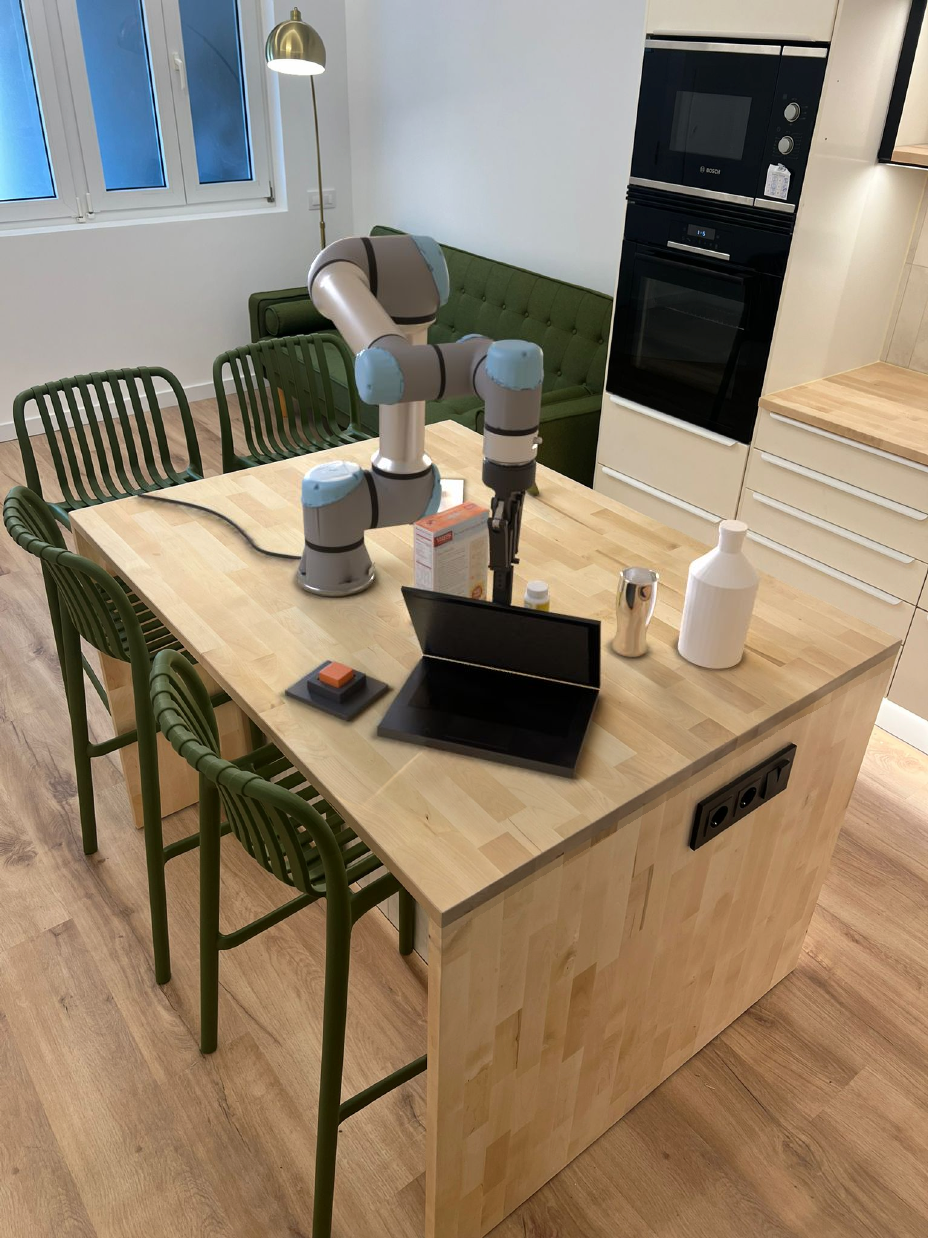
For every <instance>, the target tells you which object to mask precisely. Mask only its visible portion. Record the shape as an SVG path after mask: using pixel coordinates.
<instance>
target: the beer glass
mask: <svg viewBox="0 0 928 1238" xmlns="http://www.w3.org/2000/svg"><path fill="white" fill-rule="evenodd" d="M659 578H660V577H659V574H658V573H657V572H655V571H654V570H652V569H650V568H648V567H643V566H628V567H625V568H623V569H622V570H621V571H620V575H619V580H618V583H617V589H616V595H615V596H616V597H615V613H616V615H615V616H616V632H615V635H614V637H613V641H612V645H611V646H612V647H611V648H612V650H613V651H614V652H615V653H616V654H618V655H620V656H623V657H626V658H638V657H641V656H643V655H644V654H646V652H647V632H648V628H649V626H650V624H651V620H652V617H653V615H654V612H655V608H656V605H657V600H658V590H659Z"/></svg>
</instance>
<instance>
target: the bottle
mask: <svg viewBox="0 0 928 1238" xmlns="http://www.w3.org/2000/svg"><path fill="white" fill-rule="evenodd" d="M718 527H719V528H718V532H719V537H718V543H717V546H716V547H715V548H713V549H712V550H710V551H709V552H708V553H706V554H704V555H703V556H701V557H699V558H697V559H695V560H694V561H692V562H691V563H690V565H689V569H688V570H689V571H688V576H687V583H686V584H687V585H686V591H685V596H684V597H685V598H684V603H683V609H682V610H683V611H682V616H681V617H682V618H681V624H680V630H679V637H678V643H677V650H678V652H679V654H680V655H681V657H683V658H684V659H685V660H686V661H687V662H689V663H692V664H694V665H696V666H700V667H703V668H708V669H719V670H721V669H728V668H731V667H734V666H736V665H738V664H739V663H740V662H741V661H742V657H743V654H744V649H745V646H746V641H747V637H748V633H749V628H750V623H751V620H752V615H753V611H754V606H755V603H756V598H757V594H758V590H759V586H760V581H761V574H760V571H759V570H758V569H757V568H756V567H755V566H754V565H753V564H752V563H751V562H750V560H749V559H748V558H747V556H746V555H745V553H744V551H742V549H743V543H744V541H745V537H746V536H747V534H748V529H749V526H748V525H747V523H745V522H743V521H741V520H737V519H736V520H735V519H723V520H722V521H720V523H719V526H718Z"/></svg>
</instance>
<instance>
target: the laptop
mask: <svg viewBox="0 0 928 1238" xmlns="http://www.w3.org/2000/svg"><path fill="white" fill-rule="evenodd" d="M600 690H601V689H598V688H593V687H588V686H583V685H577V684H572V683H567V682H562V681H557V680H552V679H547V678H541V677H536V676H531V675H526V674H521V673H516V672H511V671H505V670H500V669H495V668H490V667H485V666H480V665H475V664H469V663H464V662H459V661H454V660H449V659H444V658H439V657H433V656H428V655H423V654H422V656H421V658H420V659H419V661H418V662H417V664H416V665H415V667H414V668H413V670H412V671H411V673H410V675H409V676H408V678H407V679H406V681H405V682H404V684H403V685H402V687H401V688H400V690H399V692H398V693H397V695H396V697H394V700H393V701H392V703H390V706H389V707H388V709H387V710H386V711H385V714H384V715H383V717H382V718H381V720H380V721H379V723H378V725H377V726H376V736H377V737H381V738H385V739H389V740H394V741H399V742H403V743H407V744H413V745H417V746H421V747H425V748H429V749H435V750H439V751H443V752H447V753H448V752H449V753H453V754H458V755H462V756H467V757H471V758H476V759H480V760H486V761H490V762H494V763H498V764H502V765H503V764H504V765H507V766H513V767H517V768H522V769H527V770H530V771H536V772H538V773H539V772H540V773H545V774H548V775H549V774H550V775H553V776H558V777H563V778H568V779H574V777H575V774H576V771H577V768H578V765H579V762H580V759H581V755H582V752H583V749H584V747H585V743H586V740H587V737H588V733H589V730H590V727H591V724H592V721H593V717H594V715H595V711H596V709H597V705H598V702H599V699H600V692H601V691H600Z"/></svg>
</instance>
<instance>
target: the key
mask: <svg viewBox="0 0 928 1238" xmlns="http://www.w3.org/2000/svg"><path fill="white" fill-rule="evenodd" d="M333 661H334V662H333ZM333 661H332V662H333V663H331V664H330V665H329V666H327V667H326V668H324V669H323V670H322V671H320V672H319V681H322V682H324V683H327V684H329V685H331V686H334V687H336V688H340V687H341V686H343V685H344V684H345V683H347V682H348V681H349V680H351V679H352V678H353V677H354V671H353V669H354V668H352V667H350V666H347V665H345V664H342V663H340V662H337V661H335V660H333Z"/></svg>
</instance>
